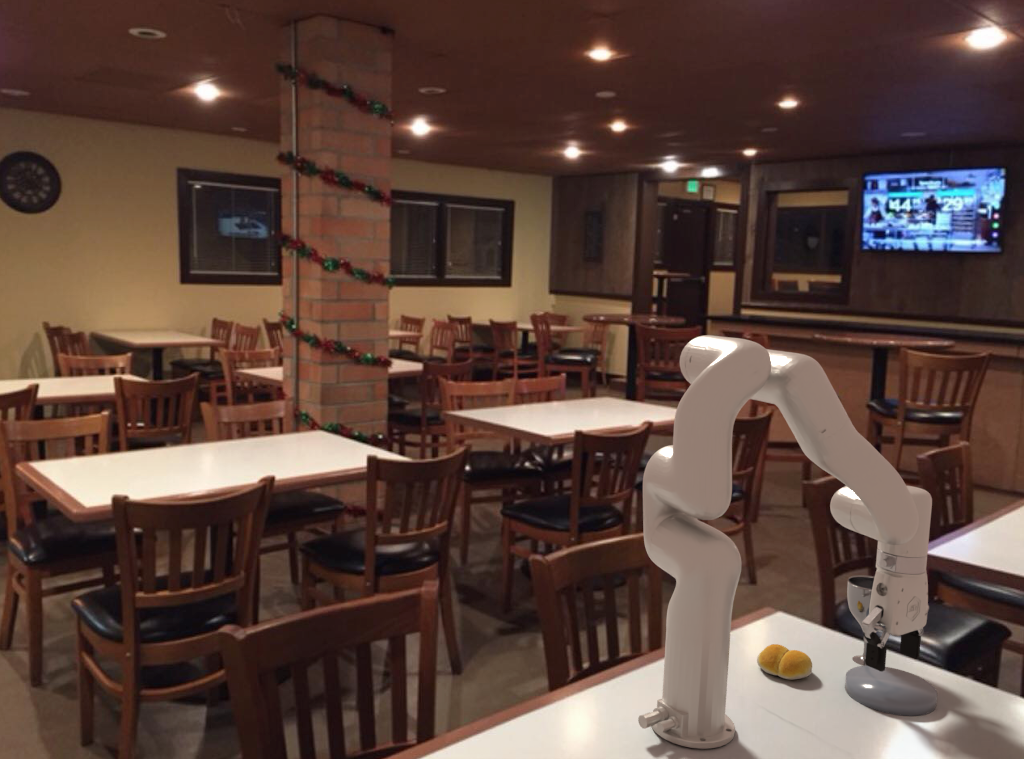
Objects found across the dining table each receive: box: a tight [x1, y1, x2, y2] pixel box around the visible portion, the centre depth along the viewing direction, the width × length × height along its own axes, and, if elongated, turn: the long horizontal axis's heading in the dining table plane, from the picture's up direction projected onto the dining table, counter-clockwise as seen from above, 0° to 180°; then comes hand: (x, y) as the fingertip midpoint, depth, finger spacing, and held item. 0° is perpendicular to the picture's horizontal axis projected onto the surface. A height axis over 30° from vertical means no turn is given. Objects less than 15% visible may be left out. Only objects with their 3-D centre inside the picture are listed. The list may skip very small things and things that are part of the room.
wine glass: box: [846, 574, 875, 666], centre depth 157 cm, size 8×8×15 cm
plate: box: [844, 665, 938, 717], centre depth 145 cm, size 14×14×2 cm
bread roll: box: [756, 643, 813, 680], centre depth 152 cm, size 8×9×4 cm
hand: (892, 661), depth 145 cm, fingers open, 9 cm apart
